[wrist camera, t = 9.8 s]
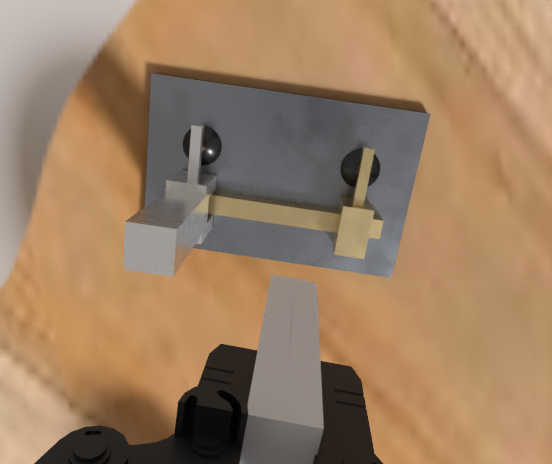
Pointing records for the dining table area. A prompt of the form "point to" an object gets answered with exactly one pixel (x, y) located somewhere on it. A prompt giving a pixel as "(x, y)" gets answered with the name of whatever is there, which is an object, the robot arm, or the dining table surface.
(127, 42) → the dining table surface
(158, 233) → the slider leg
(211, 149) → the bolt plate
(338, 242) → the gauge rail
